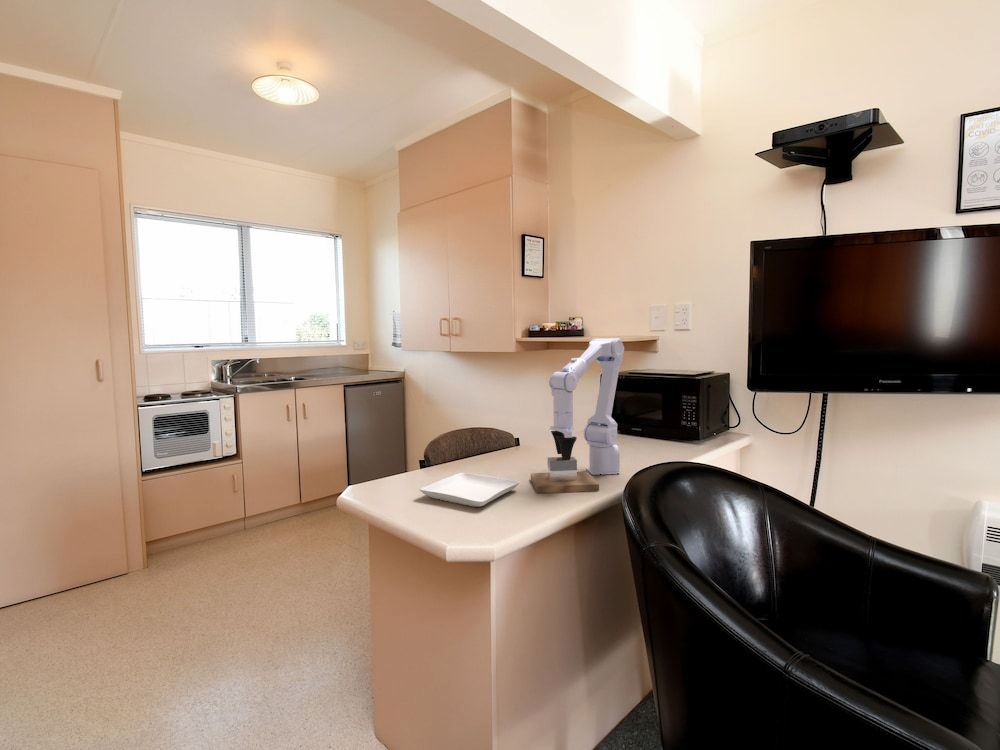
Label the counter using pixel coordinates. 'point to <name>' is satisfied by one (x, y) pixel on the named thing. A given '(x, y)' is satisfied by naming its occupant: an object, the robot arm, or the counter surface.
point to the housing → (562, 469)
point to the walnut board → (564, 483)
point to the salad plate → (469, 489)
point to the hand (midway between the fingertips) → (563, 456)
